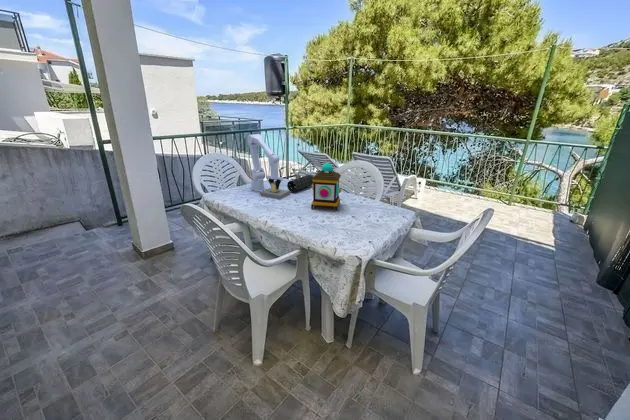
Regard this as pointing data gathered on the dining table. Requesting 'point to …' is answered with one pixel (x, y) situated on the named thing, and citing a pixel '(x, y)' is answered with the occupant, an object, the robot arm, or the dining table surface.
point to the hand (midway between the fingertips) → (275, 188)
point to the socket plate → (275, 193)
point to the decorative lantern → (326, 188)
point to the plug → (274, 187)
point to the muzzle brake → (300, 183)
